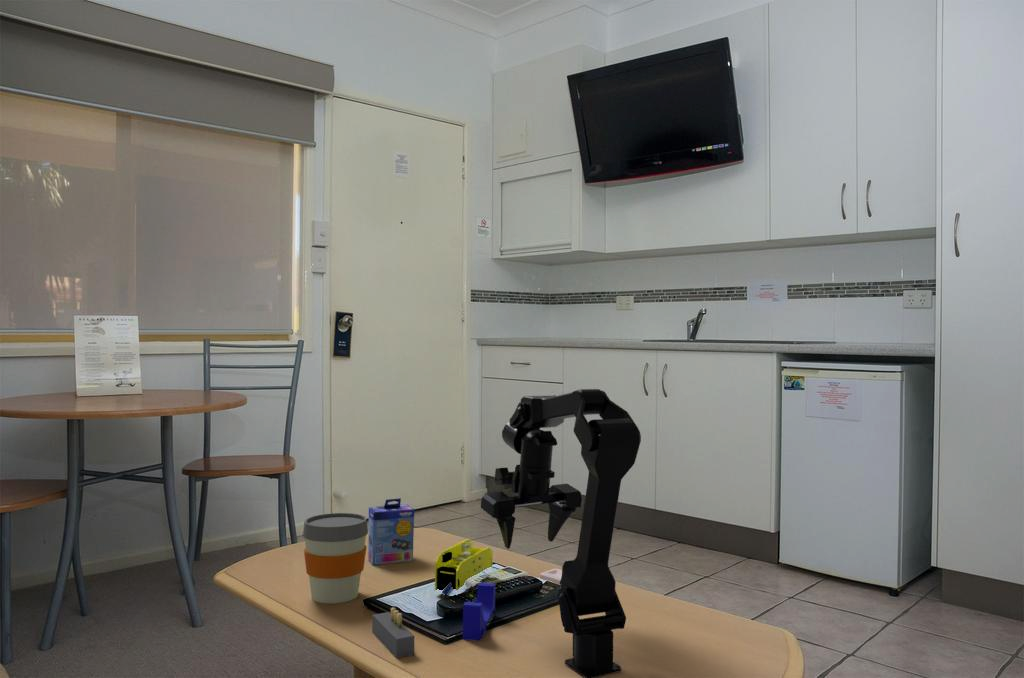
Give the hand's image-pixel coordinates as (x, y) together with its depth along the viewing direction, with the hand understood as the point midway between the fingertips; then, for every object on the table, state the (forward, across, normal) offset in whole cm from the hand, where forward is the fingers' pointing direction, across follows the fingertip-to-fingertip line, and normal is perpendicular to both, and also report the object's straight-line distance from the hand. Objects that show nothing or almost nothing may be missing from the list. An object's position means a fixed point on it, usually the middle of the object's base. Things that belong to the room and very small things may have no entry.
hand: (529, 544), depth 137 cm
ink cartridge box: (+20, +11, -42) cm, 48 cm away
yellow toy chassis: (+16, +4, -18) cm, 24 cm away
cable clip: (+13, +12, +3) cm, 18 cm away
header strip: (+12, +27, +3) cm, 30 cm away
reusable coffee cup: (+17, +29, -24) cm, 41 cm away
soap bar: (+16, -15, -9) cm, 24 cm away
